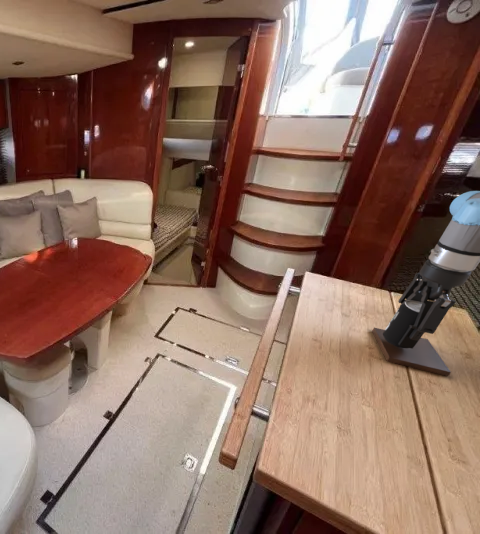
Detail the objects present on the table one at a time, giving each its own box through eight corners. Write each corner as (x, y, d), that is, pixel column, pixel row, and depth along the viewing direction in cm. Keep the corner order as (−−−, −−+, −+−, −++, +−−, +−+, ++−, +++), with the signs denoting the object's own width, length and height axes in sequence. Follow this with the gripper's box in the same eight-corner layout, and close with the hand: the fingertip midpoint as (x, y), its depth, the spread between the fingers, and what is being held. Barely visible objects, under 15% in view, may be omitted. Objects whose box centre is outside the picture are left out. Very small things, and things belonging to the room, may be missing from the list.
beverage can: (390, 347, 82) (413, 312, 76) (376, 331, 88) (397, 297, 82) (419, 351, 81) (446, 316, 75) (403, 334, 86) (426, 300, 80)
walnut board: (424, 343, 87) (427, 339, 86) (447, 376, 77) (451, 372, 76) (371, 331, 92) (374, 327, 91) (386, 361, 82) (389, 357, 81)
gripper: (411, 245, 81) (371, 313, 92) (448, 281, 66) (395, 357, 77) (449, 250, 78) (403, 320, 90) (497, 289, 63) (435, 367, 74)
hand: (400, 337), depth 83 cm, fingers closed on beverage can, 6 cm apart
